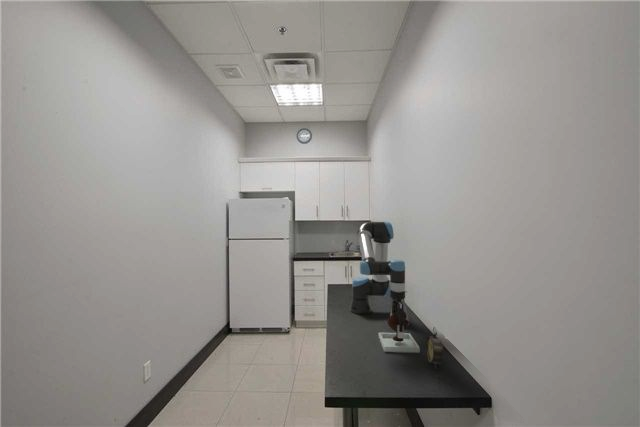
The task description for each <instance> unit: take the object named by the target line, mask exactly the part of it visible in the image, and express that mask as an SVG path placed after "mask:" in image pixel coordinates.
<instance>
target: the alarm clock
mask: <svg viewBox="0 0 640 427" xmlns="http://www.w3.org/2000/svg"><path fill="white" fill-rule="evenodd" d="M432 331H433V335H428V336H427V337H426V343H425V344H426V345H425V346H426V347H425V349H426V350H425V351H426V357H427V360H428V362H429V363H430V364H434V368H435V369H434V370H437V369H438V368H437V365H441V364H442V363H443V360H444V357H445V356H444V355H445V353H444V346H443V342H442V340H441V338H440V337H438V336H437V329H436V327H434V326H433V330H432Z"/></svg>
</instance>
